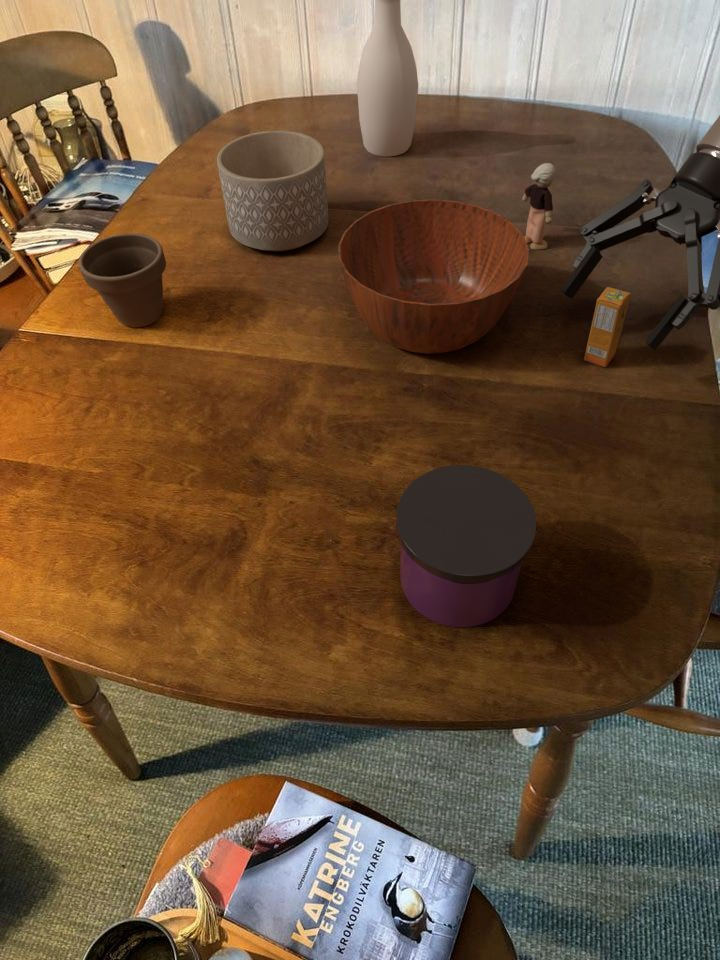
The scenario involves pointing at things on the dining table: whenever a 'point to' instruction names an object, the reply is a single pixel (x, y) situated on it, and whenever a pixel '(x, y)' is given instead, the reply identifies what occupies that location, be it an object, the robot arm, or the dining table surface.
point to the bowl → (432, 272)
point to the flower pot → (127, 276)
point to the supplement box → (606, 326)
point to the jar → (463, 543)
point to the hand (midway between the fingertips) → (606, 319)
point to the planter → (274, 189)
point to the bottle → (387, 84)
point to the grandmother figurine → (539, 205)
